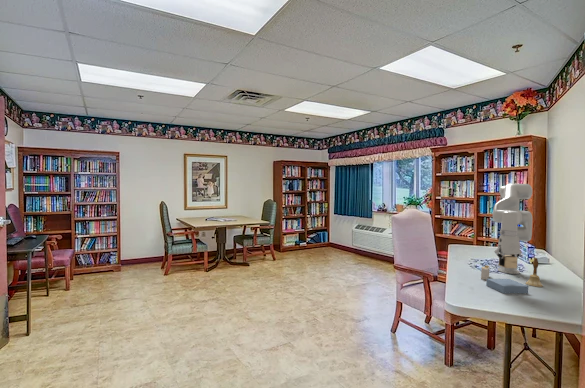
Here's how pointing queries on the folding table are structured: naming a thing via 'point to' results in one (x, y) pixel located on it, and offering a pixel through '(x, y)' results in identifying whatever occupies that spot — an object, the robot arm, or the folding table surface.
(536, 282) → the hand bell
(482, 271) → the model
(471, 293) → the folding table surface
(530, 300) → the folding table surface
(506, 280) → the slate base
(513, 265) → the oak cube
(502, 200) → the robot arm
